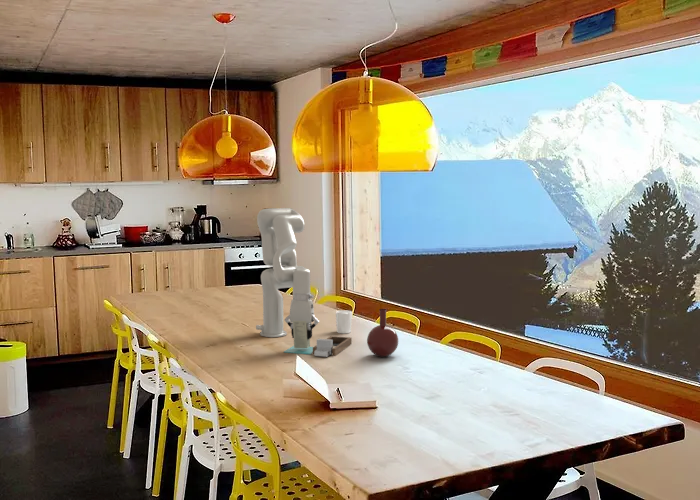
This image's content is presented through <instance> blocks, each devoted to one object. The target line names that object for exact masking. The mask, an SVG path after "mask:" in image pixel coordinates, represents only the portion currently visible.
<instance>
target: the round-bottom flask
mask: <svg viewBox="0 0 700 500" xmlns="http://www.w3.org/2000/svg"><path fill="white" fill-rule="evenodd" d="M378 311H379V325H376V326H374V327H373V328H372V329H371V330H370V331H369V333H368V335H367V339H366V342H367V343H366V344H367V347H368V349H369V351H370V352H371V353H372V354H374V355H375V356H377V357H382V358H384V357H389V356H391V355H392V354H393V353H395V352H396V351H397V349H398V346H399V336H398V334H397V332H396V330H395V329H394V328H392V327H391V326H389V325H387V311H388V309H387V308H380V309H379V310H378Z"/></svg>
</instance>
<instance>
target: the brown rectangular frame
mask: <svg viewBox="0 0 700 500" xmlns="http://www.w3.org/2000/svg"><path fill="white" fill-rule="evenodd" d="M326 339H331V340H333V343H340V344H339V345H337V346H334V347H333V349H332V354H331V356H332V357H336V356H337V355H339V354H340V353H341V352H343V351H344V350H346V349H347V348H348V347H350V346H351V345H352V342H353V341H352V339H353V338H352V337H349V336H348V337H347V336H338V335H337V336H336V335H333V336H332V335H330V336H328V337H327V338H326ZM312 347H313V353H312V355H314V351H315V350H317V344H316V345H314V346H312Z"/></svg>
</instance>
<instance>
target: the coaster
mask: <svg viewBox="0 0 700 500" xmlns="http://www.w3.org/2000/svg"><path fill="white" fill-rule="evenodd" d="M313 347H314V346H310V347H308V348H294V345H292V346H290V347H288V348H287V349H285V350H283V353H285V354H287V353H288V354H296V355H297V354H298V355H302V354H303V355H313Z"/></svg>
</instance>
